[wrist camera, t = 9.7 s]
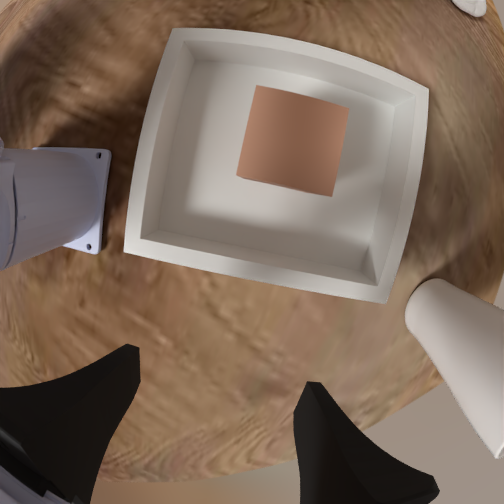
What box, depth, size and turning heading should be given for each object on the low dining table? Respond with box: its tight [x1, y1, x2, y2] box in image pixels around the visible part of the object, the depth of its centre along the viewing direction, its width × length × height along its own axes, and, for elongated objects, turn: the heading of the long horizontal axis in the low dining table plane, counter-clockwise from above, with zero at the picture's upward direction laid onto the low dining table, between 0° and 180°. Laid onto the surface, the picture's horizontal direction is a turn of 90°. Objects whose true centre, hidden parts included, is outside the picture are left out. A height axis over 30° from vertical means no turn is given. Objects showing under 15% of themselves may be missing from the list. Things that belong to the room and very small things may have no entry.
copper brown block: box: [236, 85, 349, 197], centre depth 13 cm, size 4×4×6 cm
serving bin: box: [124, 28, 429, 304], centre depth 15 cm, size 16×14×4 cm
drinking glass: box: [405, 278, 504, 459], centre depth 12 cm, size 7×7×15 cm
